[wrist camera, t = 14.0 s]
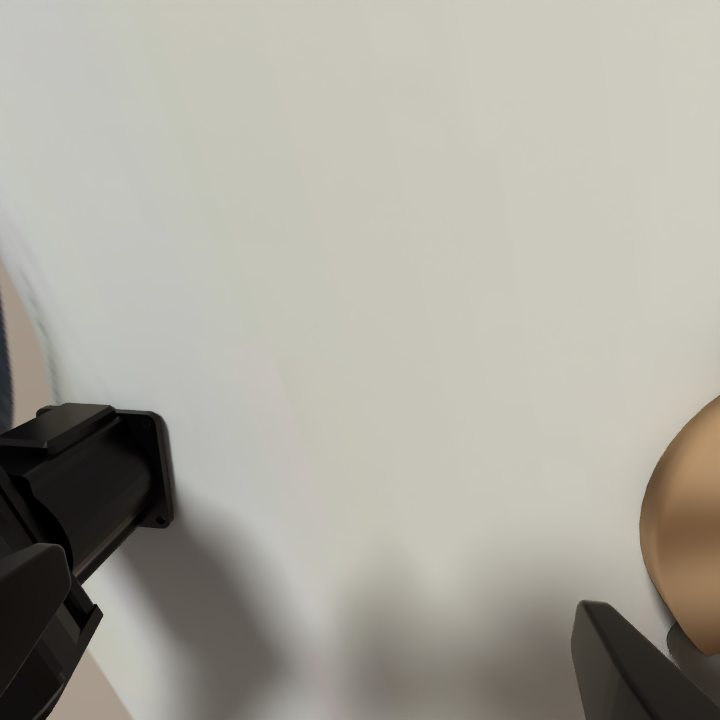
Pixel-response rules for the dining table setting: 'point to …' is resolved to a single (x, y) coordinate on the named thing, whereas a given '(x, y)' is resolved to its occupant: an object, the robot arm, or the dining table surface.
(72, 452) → the robot arm
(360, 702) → the dining table surface
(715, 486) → the base plate
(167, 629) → the dining table surface
